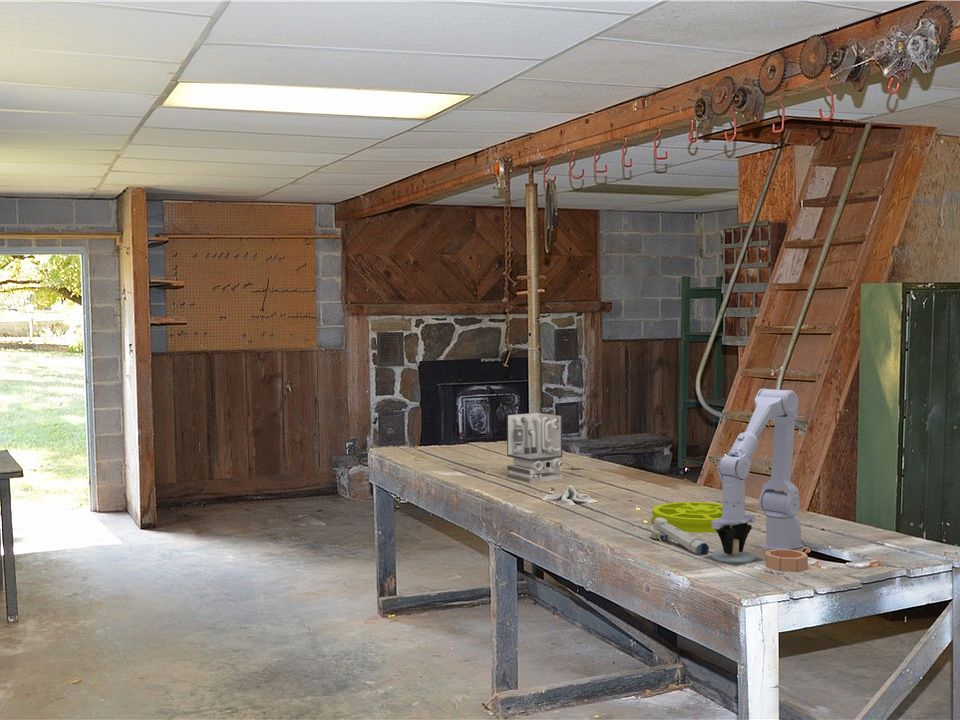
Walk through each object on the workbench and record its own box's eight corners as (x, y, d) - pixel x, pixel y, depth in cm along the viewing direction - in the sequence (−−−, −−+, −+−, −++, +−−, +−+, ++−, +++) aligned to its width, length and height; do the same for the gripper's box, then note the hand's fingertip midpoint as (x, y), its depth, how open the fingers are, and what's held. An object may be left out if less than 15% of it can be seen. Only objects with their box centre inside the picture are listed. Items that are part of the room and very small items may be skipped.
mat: (731, 552, 267) (731, 551, 267) (763, 561, 258) (763, 559, 258) (703, 558, 261) (703, 557, 261) (735, 567, 252) (735, 566, 252)
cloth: (534, 499, 350) (534, 481, 350) (584, 496, 354) (583, 479, 354) (555, 511, 328) (555, 492, 328) (607, 507, 333) (607, 489, 333)
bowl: (782, 560, 258) (783, 547, 258) (815, 568, 250) (815, 554, 250) (757, 566, 253) (757, 552, 252) (789, 574, 244) (789, 560, 244)
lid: (731, 551, 267) (731, 533, 267) (763, 559, 258) (764, 540, 257) (703, 557, 261) (703, 538, 260) (735, 566, 252) (735, 546, 251)
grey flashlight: (695, 543, 262) (647, 513, 285) (693, 567, 264) (646, 535, 287) (712, 541, 264) (663, 511, 287) (709, 565, 265) (661, 533, 288)
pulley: (744, 516, 315) (744, 501, 315) (743, 535, 289) (743, 518, 288) (656, 512, 323) (656, 497, 323) (648, 531, 296) (648, 514, 296)
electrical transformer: (539, 473, 402) (538, 412, 401) (567, 480, 386) (567, 416, 384) (507, 477, 393) (506, 415, 392) (535, 484, 377) (534, 419, 376)
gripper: (726, 507, 251) (726, 559, 252) (764, 500, 259) (763, 551, 260) (705, 502, 257) (705, 554, 258) (743, 496, 265) (742, 546, 266)
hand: (733, 552), depth 259 cm, fingers open, 4 cm apart
